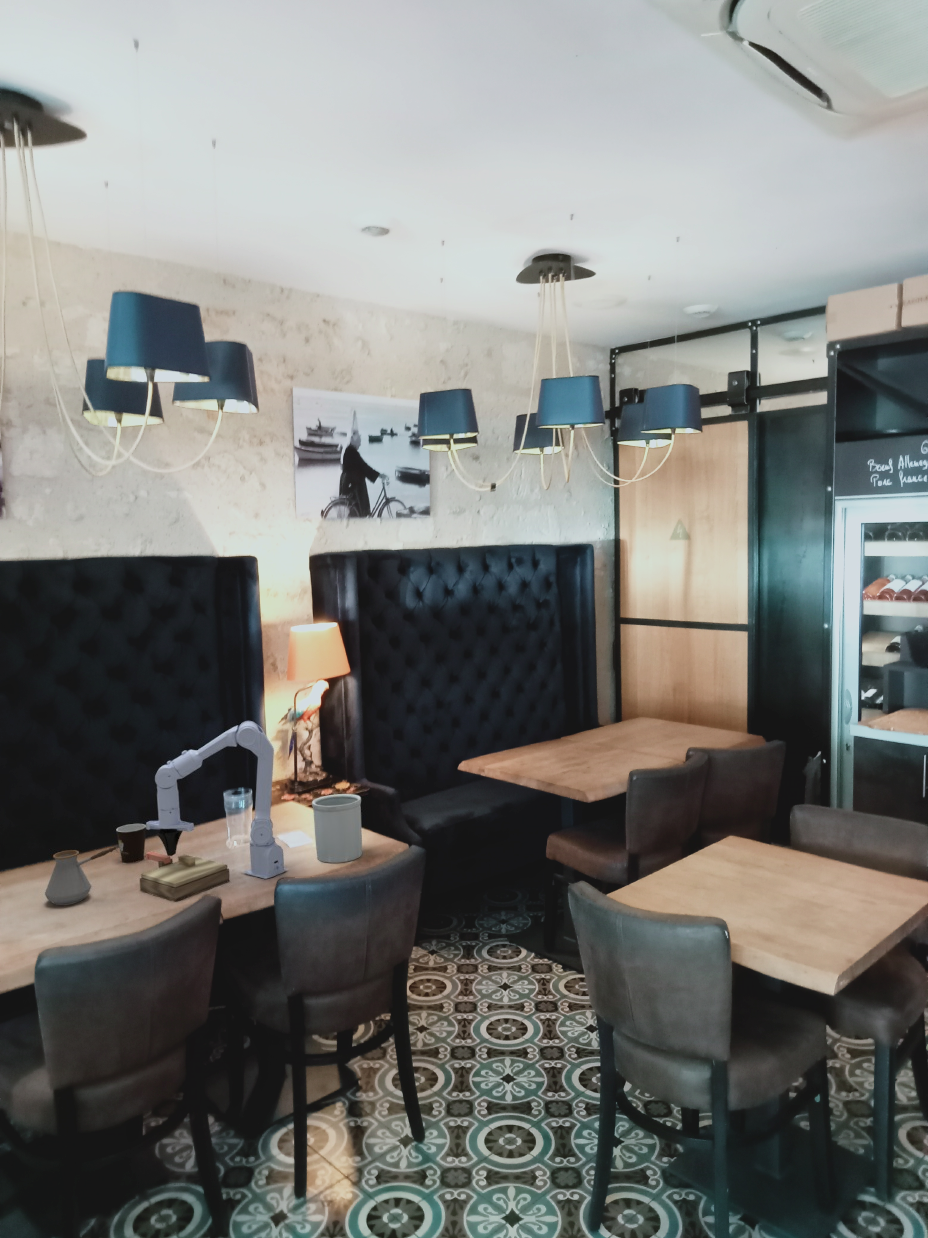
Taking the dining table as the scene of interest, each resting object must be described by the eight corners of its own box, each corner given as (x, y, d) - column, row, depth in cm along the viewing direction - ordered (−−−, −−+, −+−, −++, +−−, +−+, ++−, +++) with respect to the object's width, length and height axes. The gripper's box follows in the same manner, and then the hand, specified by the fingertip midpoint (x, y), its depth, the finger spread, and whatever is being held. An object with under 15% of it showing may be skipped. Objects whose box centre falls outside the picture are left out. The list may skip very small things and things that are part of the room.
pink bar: (171, 862, 249) (171, 856, 249) (164, 864, 247) (163, 858, 247) (152, 856, 254) (152, 851, 254) (145, 859, 252) (145, 853, 252)
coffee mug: (148, 861, 267) (146, 829, 266) (118, 866, 264) (116, 833, 263) (147, 850, 278) (145, 820, 277) (118, 855, 275) (116, 823, 274)
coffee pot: (36, 908, 231) (33, 853, 230) (60, 892, 243) (57, 839, 242) (112, 908, 229) (109, 852, 228) (133, 892, 240) (130, 839, 240)
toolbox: (229, 881, 247) (228, 860, 246) (175, 901, 232) (174, 880, 232) (191, 870, 257) (190, 851, 257) (136, 889, 242) (135, 869, 242)
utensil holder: (305, 856, 266) (302, 800, 265) (346, 845, 276) (343, 790, 275) (331, 867, 255) (329, 808, 254) (373, 855, 265) (370, 798, 264)
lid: (227, 868, 246) (226, 857, 246) (175, 887, 232) (174, 875, 232) (193, 859, 255) (192, 848, 255) (141, 877, 241) (140, 866, 241)
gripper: (198, 805, 248) (201, 851, 249) (156, 803, 252) (158, 849, 253) (183, 811, 241) (186, 859, 242) (140, 809, 246) (143, 856, 246)
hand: (171, 854), depth 247 cm, fingers closed
